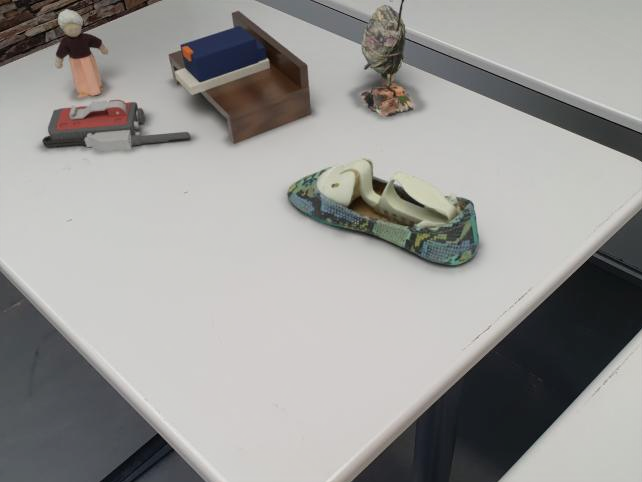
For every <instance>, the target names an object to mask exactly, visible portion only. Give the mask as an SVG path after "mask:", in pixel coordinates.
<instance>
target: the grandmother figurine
mask: <svg viewBox="0 0 642 482" xmlns="http://www.w3.org/2000/svg"><path fill="white" fill-rule="evenodd" d="M57 23H58V25H59V28H60V29H62V31H63V33H64V34H65V35H66V36H63V37H62V38H61V40H60V42H59V44H58V47H57V48H56V49H57V50H56V52H55V62H54V66H55V68H56V69H59V70H61V69H62V68H63V67H64V65H63V63H64V59H65V58H66V57H67V56H68V62H69V63H68V64H69V67H70V68H69V69H70V72H71V76H72V80H73V83H74V88H75V90H76V93H77V97H78V99H79V98H80V99H82V98H85V97H87V96H91V97H92V96H97V95H100V94H101V93H102V92H103V90H104V89H103V88H102V87H103V82H102V78H101V74H100V71H99V67H98V64H97V61H96V58H95V56H94V53H93V52H92V51H91V49H96V50H97V49H98V50H99V51H100V52H101V54H103V55H108V54H109V52H110V51H109V48H107V47H106V46H105V44H104V42H103V40H102V39H101V38H99V37H97V36H96V35H93V34H91V33H85V32H82V26H83V25H84V19H83V17H82V16H81V15H80V14H79V13H78V12H77V11H75V10H71V9H69V8H67V9H64V10H63V11H62V10H61V12H59V13H58V16H57Z"/></svg>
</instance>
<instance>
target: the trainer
mask: <svg viewBox="0 0 642 482" xmlns="http://www.w3.org/2000/svg"><path fill="white" fill-rule="evenodd" d="M179 46H180V50H181V51H182V56H183V60H184V65H185V68H183V69H180V70H177V71H175V75H176V79H177V80H178V81H179V82H180V83H181V84H180V85H181V86H182V87H183V88H184V89H185V90H186V91H187V92H188V93H189V94H190V95H191V96H195V95H196V94H199V93H200V92H203V91H205V90H208V89H211V88H214V87H217V86H220V85H223V84H226V83H228V82H231V81H234V80H237V79H240V78H243V77H246V76H248V75H251V74H254V73H257V72H260V71H263V70H266V69H269V68H270V63H269V60H268V59H267V58H266V51H265V46H263V45H262V44H261V43H260V42H258V41H257V40H256V39H255V38H254V37H253V36H252V35H250V34H249V33H248V32H247V31H245V30H244V29H243V28H242V27H241V26H237V27H234V26H233V27H231V28H227V29H225V30H222V31H218V32H217V33H213V34H209V35H207V36H203V37H201V38H200V37H199V38H197V39H195V40H191V41H187V42H184V43H182V44H180V45H179ZM200 94H201V93H200Z"/></svg>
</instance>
